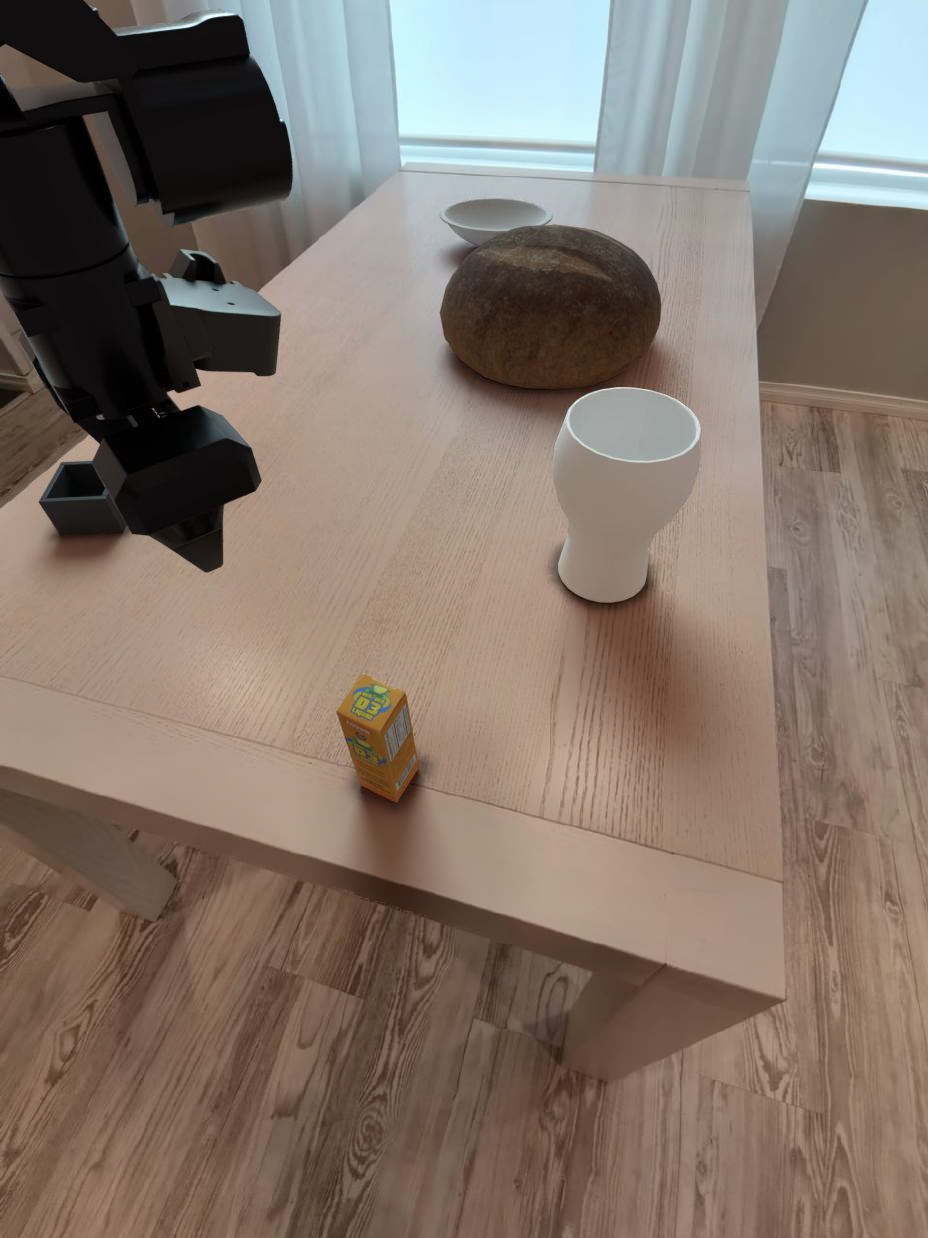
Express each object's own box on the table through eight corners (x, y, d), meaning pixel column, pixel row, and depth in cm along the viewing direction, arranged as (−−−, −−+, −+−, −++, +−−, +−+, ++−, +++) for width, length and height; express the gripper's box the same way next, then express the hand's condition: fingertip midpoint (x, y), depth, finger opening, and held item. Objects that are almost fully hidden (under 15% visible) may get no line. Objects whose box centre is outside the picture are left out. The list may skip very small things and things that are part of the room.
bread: (608, 421, 72) (629, 301, 62) (405, 364, 81) (395, 251, 71) (679, 324, 87) (705, 214, 77) (500, 284, 96) (503, 181, 86)
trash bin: (123, 531, 62) (105, 498, 59) (59, 535, 62) (38, 502, 59) (140, 491, 66) (123, 458, 63) (80, 494, 66) (61, 461, 63)
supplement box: (354, 788, 45) (329, 708, 37) (382, 748, 47) (363, 665, 39) (396, 809, 44) (379, 732, 36) (422, 767, 46) (411, 686, 38)
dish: (554, 234, 108) (557, 199, 104) (544, 269, 99) (547, 233, 95) (450, 228, 110) (449, 194, 107) (431, 262, 101) (430, 227, 97)
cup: (517, 576, 57) (527, 428, 46) (585, 515, 62) (609, 368, 51) (621, 637, 53) (661, 489, 41) (685, 565, 58) (736, 416, 46)
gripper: (330, 273, 26) (376, 554, 38) (167, 161, 36) (244, 413, 48) (37, 360, 22) (192, 645, 34) (-56, 206, 32) (90, 469, 44)
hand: (184, 525), depth 40 cm, fingers open, 9 cm apart
